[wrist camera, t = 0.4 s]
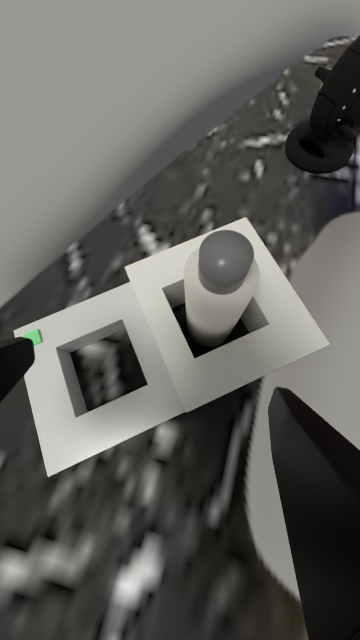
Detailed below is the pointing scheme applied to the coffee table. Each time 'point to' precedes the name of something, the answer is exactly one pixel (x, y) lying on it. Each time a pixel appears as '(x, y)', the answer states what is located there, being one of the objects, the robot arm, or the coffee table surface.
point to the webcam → (331, 116)
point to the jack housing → (157, 352)
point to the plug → (219, 285)
